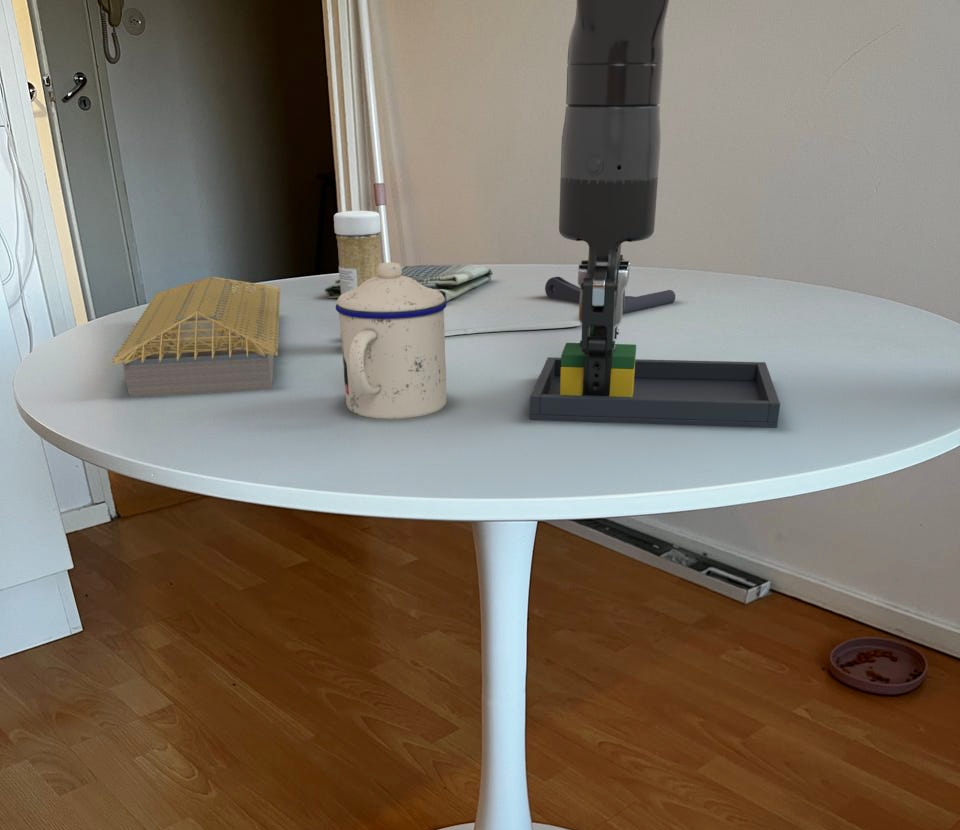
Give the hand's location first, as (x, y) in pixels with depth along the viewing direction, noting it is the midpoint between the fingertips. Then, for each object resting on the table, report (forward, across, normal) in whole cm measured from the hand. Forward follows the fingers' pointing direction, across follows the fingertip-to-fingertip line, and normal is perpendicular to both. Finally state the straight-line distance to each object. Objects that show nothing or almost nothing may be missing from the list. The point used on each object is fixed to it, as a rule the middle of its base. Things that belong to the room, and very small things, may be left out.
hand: (598, 390), depth 86 cm
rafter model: (+2, +15, +41) cm, 44 cm away
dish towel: (+2, +53, +29) cm, 60 cm away
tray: (+1, +1, -5) cm, 5 cm away
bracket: (+2, +45, +4) cm, 45 cm away
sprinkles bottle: (+2, +18, +25) cm, 31 cm away
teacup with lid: (+2, -4, +17) cm, 18 cm away
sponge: (+1, 0, 0) cm, 1 cm away
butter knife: (+2, +26, +16) cm, 31 cm away
